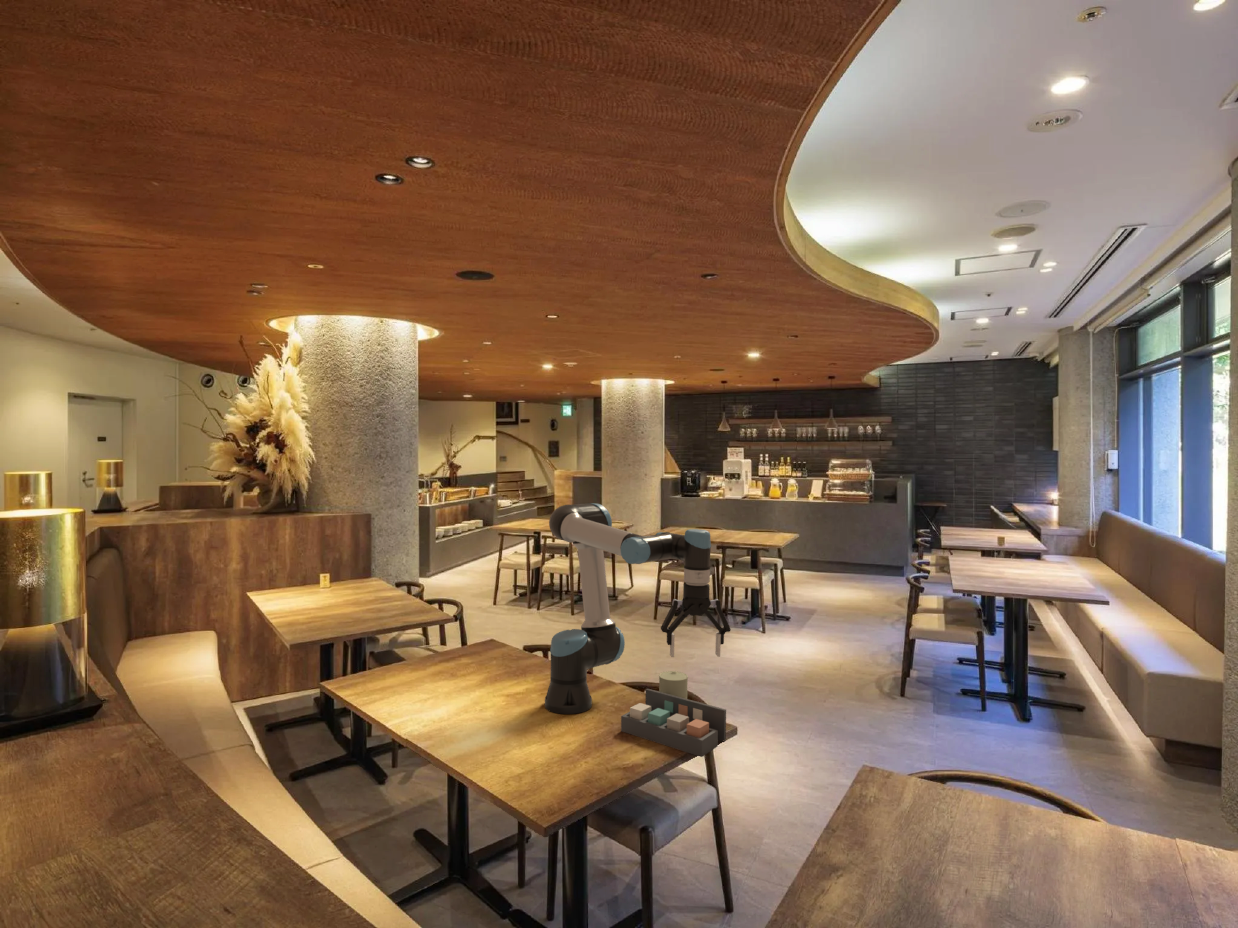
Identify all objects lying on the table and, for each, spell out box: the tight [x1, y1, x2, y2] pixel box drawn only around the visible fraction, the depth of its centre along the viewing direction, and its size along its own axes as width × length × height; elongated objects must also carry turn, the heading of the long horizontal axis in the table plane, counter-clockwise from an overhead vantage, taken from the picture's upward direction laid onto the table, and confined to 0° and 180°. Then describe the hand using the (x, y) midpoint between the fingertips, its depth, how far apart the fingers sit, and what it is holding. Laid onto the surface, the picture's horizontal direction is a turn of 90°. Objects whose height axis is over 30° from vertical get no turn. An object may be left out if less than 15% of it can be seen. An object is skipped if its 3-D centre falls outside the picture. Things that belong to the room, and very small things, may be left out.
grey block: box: [667, 713, 689, 732], centre depth 194 cm, size 4×5×4 cm
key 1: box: [629, 702, 651, 720], centre depth 202 cm, size 4×5×4 cm
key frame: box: [620, 711, 719, 758], centre depth 196 cm, size 27×9×4 cm, turn 53°
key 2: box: [648, 708, 670, 726], centre depth 198 cm, size 4×5×4 cm
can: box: [658, 670, 689, 699], centre depth 216 cm, size 9×9×12 cm
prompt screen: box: [644, 688, 727, 743], centre depth 202 cm, size 27×1×9 cm, turn 53°
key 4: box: [687, 719, 709, 738], centre depth 190 cm, size 4×5×4 cm
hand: (694, 655), depth 199 cm, fingers open, 13 cm apart
